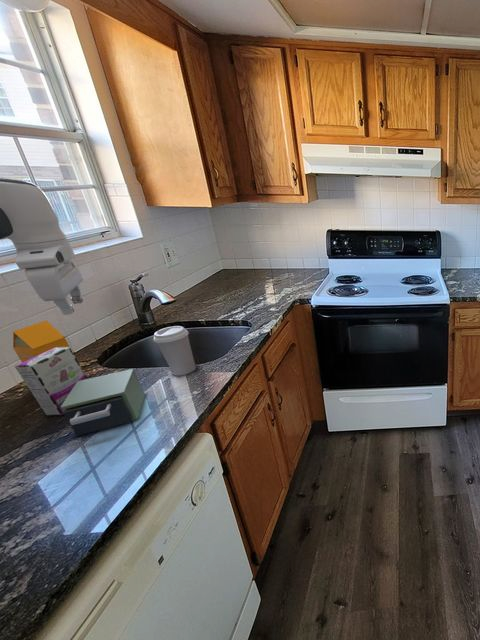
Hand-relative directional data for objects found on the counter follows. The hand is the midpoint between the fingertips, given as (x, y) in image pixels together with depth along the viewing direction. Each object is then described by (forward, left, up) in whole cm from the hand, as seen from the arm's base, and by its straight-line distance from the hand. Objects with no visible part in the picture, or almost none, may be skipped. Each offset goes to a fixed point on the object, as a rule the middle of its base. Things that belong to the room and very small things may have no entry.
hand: (74, 308), depth 92 cm
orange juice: (-21, +32, -31) cm, 50 cm away
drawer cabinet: (-2, -1, -31) cm, 31 cm away
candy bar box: (-14, +12, -31) cm, 36 cm away
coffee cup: (+14, +17, -31) cm, 38 cm away
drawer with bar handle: (-2, -6, -30) cm, 31 cm away
